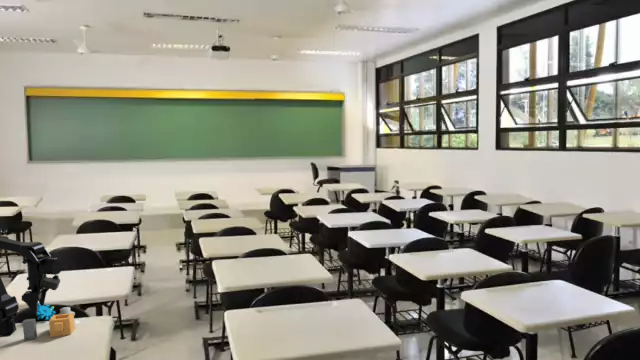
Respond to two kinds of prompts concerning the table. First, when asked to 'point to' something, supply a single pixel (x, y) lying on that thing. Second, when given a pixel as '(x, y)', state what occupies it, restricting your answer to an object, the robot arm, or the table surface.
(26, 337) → the wedge
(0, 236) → the robot arm
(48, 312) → the gear
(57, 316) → the tan open box
